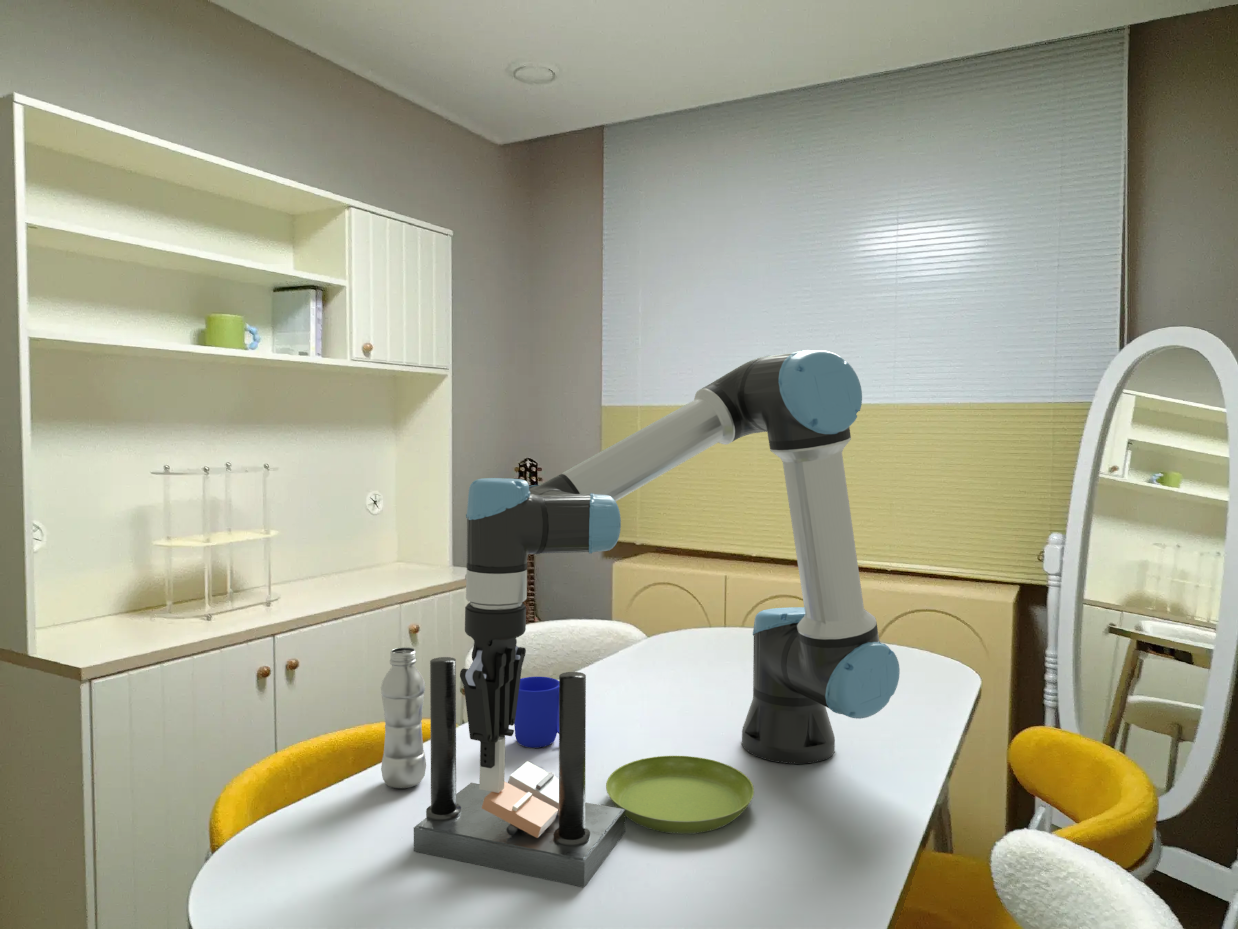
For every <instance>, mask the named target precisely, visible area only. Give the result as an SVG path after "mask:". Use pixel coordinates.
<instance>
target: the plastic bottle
mask: <svg viewBox="0 0 1238 929" xmlns="http://www.w3.org/2000/svg"><path fill="white" fill-rule="evenodd" d="M416 654H417V652H416V648H413V647H407V646H406V647H405V646H404V647H403V646H402V647H401V646H400V647H395V648H393V649H391V650H390V660H389V664H390V666H391V667H390V669H389V670H388V671H387V673H386V675H385V676H384V678H383V680H382V681H381V682H382V683H381V686H380V691H381V692H380V693H381V694H380V695H381V699H382V707H383V712H384V713H383V716H384V729H385V730H384V731H385V733H384V746H383V754H382V758H381V768H380V770H381V771H380V772H381V776H382V780H383V782H384V783H385V784H386V786H388V787H390V788H392V789H393V788H394V789H406V788H413V787H415V786H417V785H419V784H421V782H422V781H423V779H424V777H425V775H426V769H427V760H426V754H425V750H424V741H423V730H422V724H423V722H422V720H423V708H424V707H423V706H424V698H425V691H426V683H425V679H424V677H423V675H422V673H421V672H420V670H418V668H417V667H416V666H415V664H416V663H417V658H416Z"/></svg>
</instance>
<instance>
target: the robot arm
mask: <svg viewBox="0 0 1238 929" xmlns="http://www.w3.org/2000/svg"><path fill="white" fill-rule="evenodd" d="M862 404H863V391H862V386H861V382H860V380H859V377H858V375H857V373H856V371H855V370H854V368H853V367H852V365H851V364H850V363H849V362H848V361H847V360H845V359H843V357H841V355H839V354H837V353H835V352H832V351H829V350H821V349H818V350H817V349H816V350H812V349H806V350H805V349H801V350H798V351H795V352H788V353H782V354H774V355H766V356H765V355H764V356H759V357H756V358H754V359H752V360H750V361H747V362H745V363H743V364H741V365H740V366H738V367H736V368H735V369H733V370H731V371H729V372H727V373H726V374H724V375H723V376H721V377H720V378H718V379H716V380H714V381H712V382H711V383H709V384H708V385H705V386H704V387H701V388H700V389H699V390H697V391H696V392H695V395H694V399H693V400H692V401H690V402H688V403H687V404H685V405H683V406H680V407H679V408H677V409H676V410H674V411H672V412H670V413H668V414H666V415H665V416H662V417H661V418H659V419H657V420H655V421H654V422H651V423H650V424H649V425H647V426H645V427H643V428H641V429H639V430H637V431H635V432H634V433H632V434H630V435H628V436H626V437H624V438H623V439H621V440H619V441H618V442H616V443H613V444H612V445H611V446H609V447H607V448H605V449H603V450H601V451H599V452H597V453H596V454H593V456H591V457H589V458H586V459H585V460H583V461H582V462H580V463H578V464H576V465H573V467H571V468H569V469H567V470H565V471H564V472H561V473H560V474H558V475H556V476H555V477H552V478H550V479H549V480H547V481H545V482H543V483H541V484H534V485H529V483H528V481H527V480H525V479H520V478H508V477H507V478H503V477H502V478H501V477H488V478H487V477H486V478H478V479H475V480H473V481H472V483H471V484H469V489H468V495H467V505H466V506H467V507H466V508H467V509H466V514H465V519H466V566H465V567H466V572H465V573H466V574H465V576H464V579H465V580H466V581H465V600H467V601H468V602H469V603H467V604H466V606H465V607H464V608H465V609H464V633H465V634H466V635H467V636H468V637H471V638H472V640H473V648H472V652H471V660H472V661H471V662H472V663H471V664H470V666H469V667H468V668H464V667H463V668H461V670H460V673H459V677H460V680H461V683H462V685H463V690H464V698H465V699H464V700H465V706H466V715H467V724H468V733H469V739H470V740H472V741H478V742H479V744H480V748H479V751H480V752H479V784H480V785H479V789H481V790H486V791H491V792H496V793H499V792H500V791H502V790H503V789H504V781H505V771H506V768H505V766H506V763H505V762H506V737H513V735H514V734H515V729H511V728H510V726H511V727H513V726H514V723H515V718H516V710H517V702H518V694H519V686H520V679H522V669H523V664H524V660H525V656H526V652H527V650H526V647H523V646H522V647H521V646H518V645H517V643H518V642H517V638H519V637H522V636H523V635H524V634H525V632H526V630H527V628H526V626H527V606H526V605H525V604H524V603H523V602H525V601H526V600H527V599H528V598H527V597H528V596H527V594H528V593H527V592H528V590H527V588H528V556H529V555H540V554H568V553H569V554H572V553H574V554H577V553H582V554H583V553H588V554H592V553H597V552H598V553H599V552H607V551H611V550H612V549H614V547H615V546H616V545H617V543H618V541H619V539H620V534H621V527H622V526H621V525H622V523H621V522H622V521H621V520H622V519H621V518H622V517H621V512H620V509H619V506H618V503H617V501H619V500H620V499H623V498H625V497H626V496H627V495H630V494H631V493H633V492H635V491H637V490H638V489H640V488H641V487H643V486H646V485H647V484H649V483H650V482H652V481H654V480H656V479H657V478H659V477H660V476H661V477H662V475H664V474H666V473H668V472H670V471H671V470H672V469H674V468H676V467H678V466H680V465H681V464H684V463H685V462H687V461H689V460H690V459H692V458H694V457H695V456H697V455H699V454H701V453H702V452H704V451H706V450H708V449H709V448H711V447H713V446H715V445H717V444H718V443H719V444H721V445H729V444H731V443H733V442H734V441H736V440H738V439H741V438H742V437H745V436H748V435H752V434H759V433H767V437H768V438H767V439H768V445H769V446H768V447H769V451H770V452H772V453H773V454H774V455H776V456H777V457H778V458H779V459H780V460H781V462H782V466H783V474H784V481H785V487H786V488H785V489H786V494H787V501H788V507H789V508H788V509H789V514H790V519H791V527H792V533H793V534H792V535H793V540H794V546H795V554H796V562H797V567H798V573H799V581H800V587H801V588H800V589H801V595H802V600H803V607H798V606H796V607H795V606H793V607H791V606H789V607H776V608H767V609H763V610H761V611H759V612H758V613H757V614H756V615H755V617H754V623H753V631H752V636H753V655H752V656H753V658H752V659H753V661H752V662H753V667H752V670H753V673H752V674H753V675H752V676H753V678H752V680H753V681H752V686H753V688H752V700H751V703H750V706H749V708H748V712H747V715H746V716H745V717H746V718H745V720H744V724H743V726H742V728H741V729H742V730H741V745H742V747H743V749H744V750H746V751H747V752H748V753H749V754H751V755H754V756H755V757H758V758H761V759H764V760H767V761H771V762H777V763H783V764H792V765H793V764H794V765H795V764H798V765H799V764H802V765H803V764H812V763H819V762H822V761H824V760H825V761H826V760H827V759H829V758H831V757H832V756H833V755H834V754H835V750H836V749H835V747H836V746H835V745H836V743H835V741H836V739H835V733H834V730H833V726H832V724H831V721H830V716H829V713H828V711H827V708H828V709H829V710H831V711H832V713H834V714H838V715H843V716H846V717H848V718H851V719H856V720H857V719H859V720H861V719H867V718H869V717H872V716H874V715H876V714H877V713H879V712H881V711H882V709H884V708H885V707H886V706H887V705H888V703H889V702H890V699H891V698H892V697H893V695H894V694H895V692H896V690H897V688H898V685H899V681H900V674H901V672H900V670H901V669H900V662H899V660H898V659H899V658H898V657H897V655H896V653H895V652H894V650H892V649H891V648H890V647H889V646H888V645H887V644H886V643H882V642H880V636H879V629H878V623H877V619H876V616H875V615H873V614H872V613H871V612H869V611H867V610H866V609H865V606H864V599H863V592H862V586H861V577H860V571H859V564H858V557H857V555H858V554H857V551H856V550H857V549H856V544H855V543H856V541H855V536H854V529H853V528H854V527H853V520H852V513H851V507H850V499H849V492H848V487H847V478H846V472H845V464H844V458H843V457H844V456H843V452H844V449H845V447H847V445H848V444H849V443H850V441H851V440H852V436H851V430H850V429H851V426H852V425H853V424H854V423H855V422H856V420H857V418H858V415H857V414H858V413H859V412H860V411H861V409H862Z"/></svg>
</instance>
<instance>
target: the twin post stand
mask: <svg viewBox="0 0 1238 929" xmlns="http://www.w3.org/2000/svg"><path fill="white" fill-rule="evenodd" d="M429 664H430V666H429V667H430V668H429V669H430V670H429V671H430V672H429V676H430V677H429V678H430V679H429V680H430V681H429V682H430V684H429V685H430V687H429V688H430V689H429V690H430V691H429V692H430V694H429V695H430V704H429V705H430V714H429V715H430V717H429V718H430V805H429V806H427V808H426V810H425V813H426V814H425V815H426V817H425V818H424V819H423V820H421V821H420V822H418V824H416V825H415V826H414V827H413V852H416V853H417V852H418V853H421V854H426V855H429V856H430V855H431V856H434V857H435V856H436V857H440V858H444V859H448V860H455V861H459V862H463V863H468V864H472V865H476V866H477V865H478V866H483V867H486V868H487V867H488V868H492V869H497V870H499V871H500V870H502V871H505V872H509V873H510V872H511V873H515V874H521V875H525V876H529V877H534V878H539V879H543V880H549V881H554V882H557V883H562V884H568V885H572V886H577V887H582V888H585V887H586V886H587V884H588V883H589V882H590V880H591V879H592V878H593V876H594V875H595V873H596V872H597V871H598V870H599V868H600V867H601V866H602V864H603V863H604V861H605V860H606V858H607V857H608V856H609V854H610V853H611V852H612V851H613V849H614V847H616V845H617V844H618V842H620V839H622V837H623V835H624V834H625V833H626V816H625V809H621V808H617V807H616V806H608V805H602V804H596V803H591V802H586V748H587V747H586V742H587V740H586V736H587V735H586V731H587V730H586V726H587V724H586V723H587V722H586V720H587V717H586V716H587V715H586V714H587V711H586V710H587V708H586V706H587V702H586V701H587V699H586V697H587V695H586V693H587V692H586V690H587V681H586V680H587V679H586V678H587V674H585V673H583V672H579V671H567V672H562V673H560V674H559V675H558V679H559V680H558V681H559V734H558V778H559V815H556V818H555V820H554V821H553V822H552V823H551V825H550V826H549V827H548V828H547V829H546V830H545V831H544V832H543V833H542V834H541V835H540V836H539V837H538V838H536V837H534V836H532V835H531V834H529V833H527V832H525V831H523V830H521V829H519V828H518V827H516V826H514V825H512V824H510V823H508V822H506V821H505V820H503V819H501V818H499V817H497V816H495V815H493V814H491V813H490V812H488V811H486V810H484V809H482V805H483V802H484V798H485V797H486V796H487V795H488V794H489V793H491V791H486V790H481V789H479V785H480V783H477V782H470V783H468V785H466V786H465V787H463V788H462V789H460V790H459V792H457V660H456V658H454V657H450V656H440V657H435V658H431V660H429Z"/></svg>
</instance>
